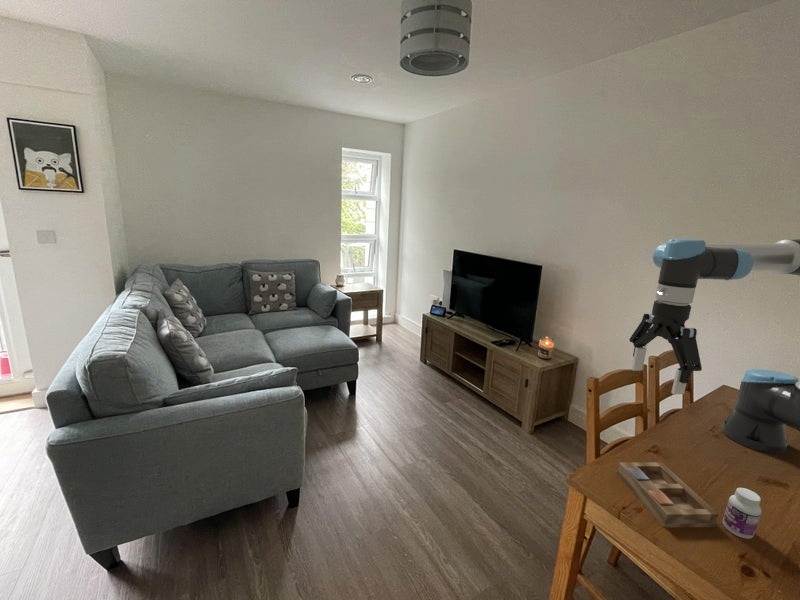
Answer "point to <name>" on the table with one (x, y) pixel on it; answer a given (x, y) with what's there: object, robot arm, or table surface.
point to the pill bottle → (742, 513)
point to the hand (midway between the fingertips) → (655, 381)
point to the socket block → (666, 495)
